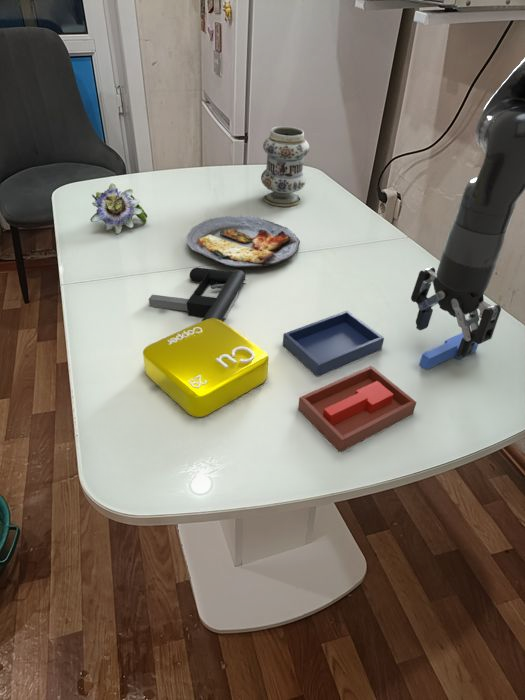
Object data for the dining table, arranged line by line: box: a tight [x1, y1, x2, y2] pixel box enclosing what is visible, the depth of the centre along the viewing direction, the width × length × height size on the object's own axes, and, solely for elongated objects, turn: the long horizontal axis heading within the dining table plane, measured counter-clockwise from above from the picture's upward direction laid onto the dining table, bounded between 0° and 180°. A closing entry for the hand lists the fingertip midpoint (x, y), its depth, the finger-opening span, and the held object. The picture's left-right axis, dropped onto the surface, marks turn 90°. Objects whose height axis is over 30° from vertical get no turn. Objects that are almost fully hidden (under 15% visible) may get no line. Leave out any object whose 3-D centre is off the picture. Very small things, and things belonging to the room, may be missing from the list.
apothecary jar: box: [260, 125, 310, 208], centre depth 133 cm, size 12×12×18 cm
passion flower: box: [89, 182, 148, 235], centre depth 120 cm, size 11×11×12 cm
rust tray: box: [297, 365, 417, 453], centre depth 75 cm, size 14×10×2 cm
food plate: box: [185, 215, 301, 269], centre depth 115 cm, size 25×23×4 cm
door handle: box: [148, 267, 246, 322], centre depth 97 cm, size 3×20×16 cm
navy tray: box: [282, 310, 385, 377], centre depth 87 cm, size 14×10×2 cm
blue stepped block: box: [418, 332, 479, 371], centre depth 86 cm, size 11×4×2 cm, turn 123°
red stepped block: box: [323, 381, 394, 426], centre depth 75 cm, size 11×4×2 cm, turn 123°
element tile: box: [142, 318, 269, 418], centre depth 80 cm, size 15×15×5 cm
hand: (440, 341), depth 84 cm, fingers open, 8 cm apart
